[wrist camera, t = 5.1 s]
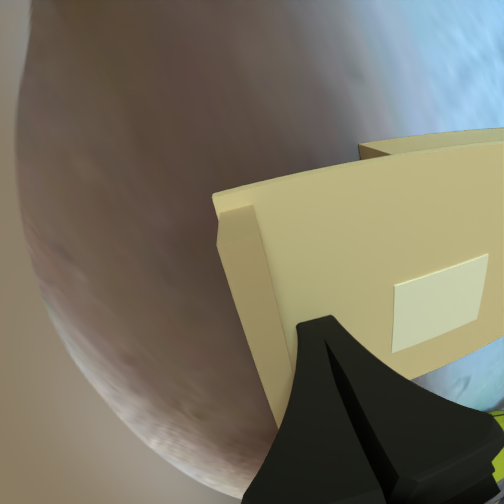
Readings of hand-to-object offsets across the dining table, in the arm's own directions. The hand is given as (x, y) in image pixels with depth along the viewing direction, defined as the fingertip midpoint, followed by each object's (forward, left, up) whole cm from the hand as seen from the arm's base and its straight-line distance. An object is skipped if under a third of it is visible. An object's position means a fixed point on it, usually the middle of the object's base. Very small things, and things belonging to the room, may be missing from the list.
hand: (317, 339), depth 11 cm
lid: (-5, -2, -1) cm, 5 cm away
